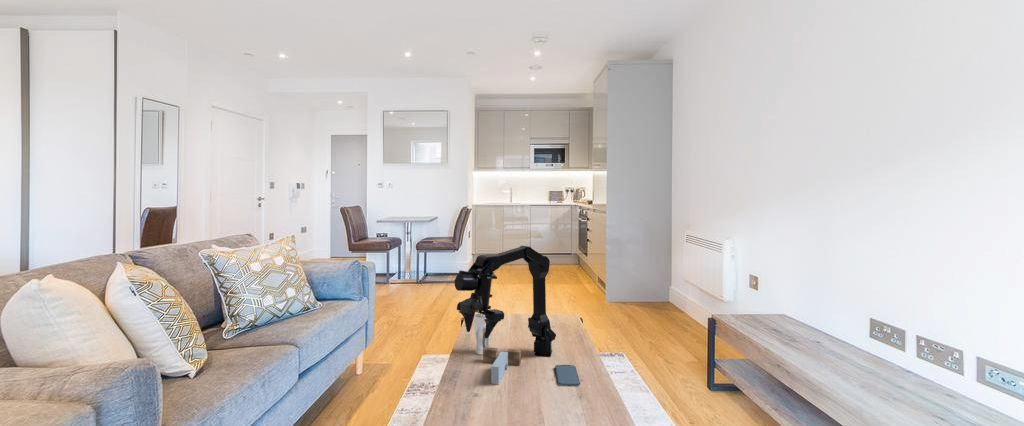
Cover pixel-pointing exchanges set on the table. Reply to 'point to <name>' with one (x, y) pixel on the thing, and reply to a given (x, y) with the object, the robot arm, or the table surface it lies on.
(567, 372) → the smartphone
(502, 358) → the pale blue upright post
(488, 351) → the tan wooden plank
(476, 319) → the beer glass
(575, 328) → the table surface
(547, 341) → the robot arm
